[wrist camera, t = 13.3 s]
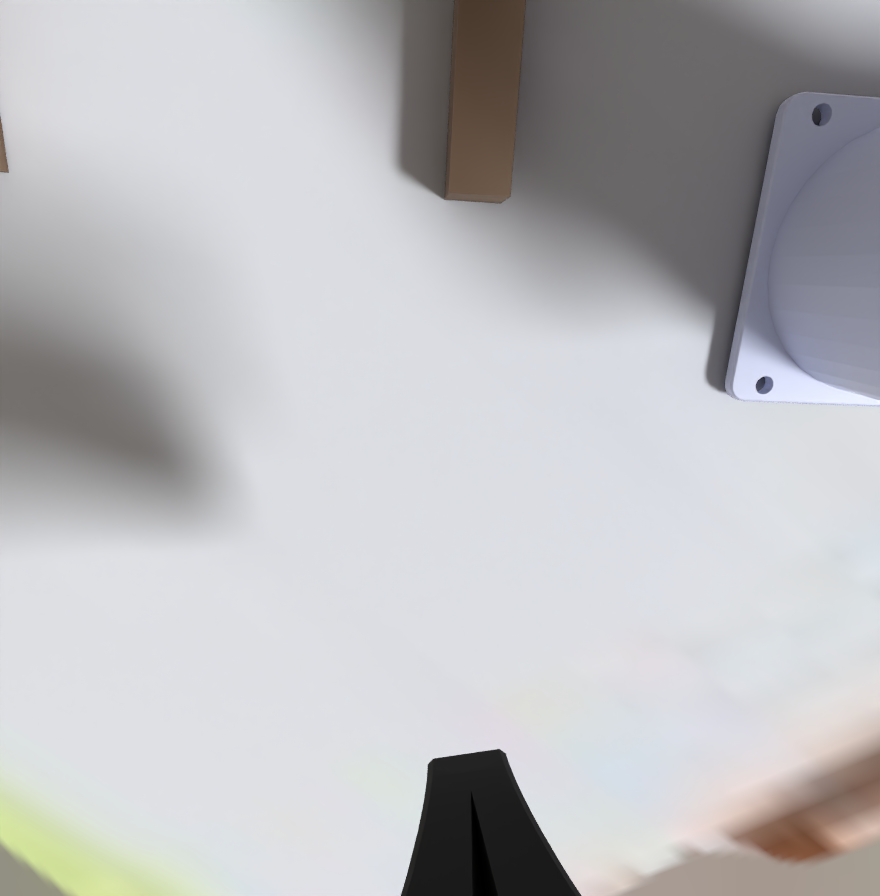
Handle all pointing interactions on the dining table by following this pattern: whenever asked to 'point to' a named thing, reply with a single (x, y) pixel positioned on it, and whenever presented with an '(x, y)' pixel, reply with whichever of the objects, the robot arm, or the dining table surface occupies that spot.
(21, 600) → the dining table surface
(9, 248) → the dining table surface
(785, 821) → the dining table surface
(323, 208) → the dining table surface
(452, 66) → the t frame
